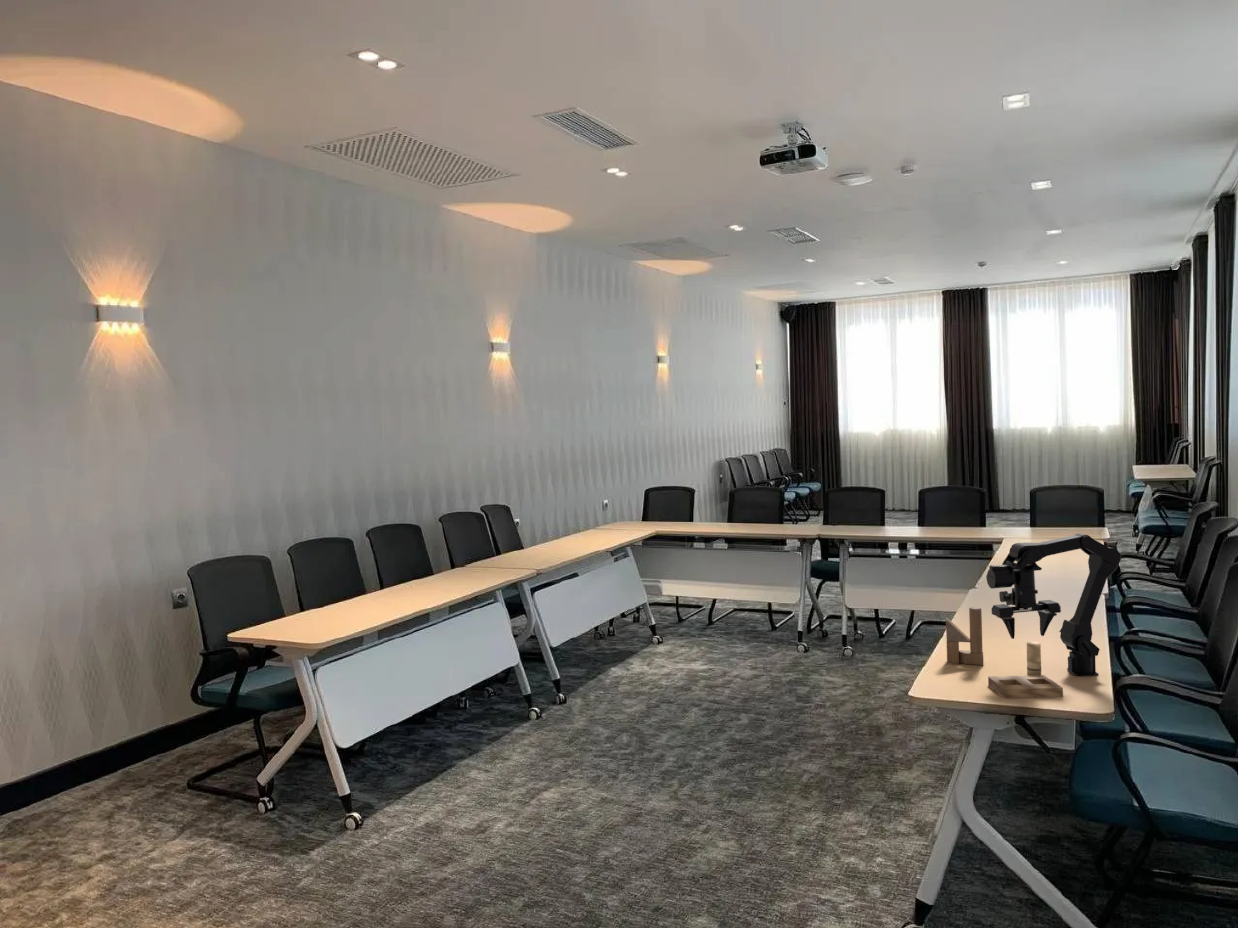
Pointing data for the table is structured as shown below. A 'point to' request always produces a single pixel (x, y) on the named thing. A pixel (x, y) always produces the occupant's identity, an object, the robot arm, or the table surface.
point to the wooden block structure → (965, 640)
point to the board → (1025, 686)
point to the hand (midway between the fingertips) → (1027, 637)
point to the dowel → (1033, 658)
